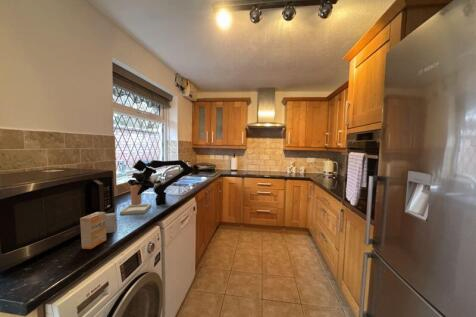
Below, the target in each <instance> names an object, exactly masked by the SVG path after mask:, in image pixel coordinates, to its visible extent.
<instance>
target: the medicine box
mask: <svg viewBox="0 0 476 317" xmlns="http://www.w3.org/2000/svg"><path fill="white" fill-rule="evenodd" d="M105 220H106V234H111V233H115V232H117V230H118V222H117V213H116V212H111V213H105Z"/></svg>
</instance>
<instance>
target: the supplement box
mask: <svg viewBox="0 0 476 317" xmlns="http://www.w3.org/2000/svg"><path fill="white" fill-rule="evenodd" d="M105 214H106V212H105V211H96V212H93V213H90V214H88V215H86V216H83V217H80V218H79V224H80V239H81V240H80V241H81V242H80V243H81V249H83V250H85V249H86V250H92V249H94V248H95V247H97V246H98V245H101V244H102V243H104V242H106V241H107V233H106V220H105Z"/></svg>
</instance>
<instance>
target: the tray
mask: <svg viewBox="0 0 476 317" xmlns="http://www.w3.org/2000/svg"><path fill="white" fill-rule="evenodd" d="M151 207H152V203H141V204H139V205H131V204H128V205H127V206H125V207H124V208H123V209H121V210H120V211H119V216H120V215H121V216H123V215H139V214H146V213H147V212H148V211H149V209H151Z"/></svg>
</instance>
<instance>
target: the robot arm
mask: <svg viewBox="0 0 476 317" xmlns="http://www.w3.org/2000/svg"><path fill="white" fill-rule="evenodd" d="M171 166H180V168H181V170H180V171H179V172H178V173H176V174H175V175H173V176H172V177H170V178H169V179H167V180H165V181H164V182H158V183H157V184H154V183H153V181H151V177H152V176H153V174H154V175H155V174H157V169H159V168H162V167H171ZM132 168H133V169H135V170H136V171H138V173H137V172H133V173H132V176H131V178H133V179H129V180H128V181H127V183H128V185H130V186H133V185H141V188H140V190H139V191H138V194H137V195H140V194H141V195H142V194H143V193H144V192H146V191H148V190H150V189H152V191H153V193H154V194H156V197H155V206H158V205H159V206H161V205H166V204H167V203H168V202H167V192H165V191H166V189H167V188H168V187H170V186H171V185H172V184H173V185H174V183H175V182H177V181H179V180H180V179H182V178H183V177H186V176H189V175H190V174H192V173H193V172H194V168H193V167H192V166H190V165H188V164H187V163H186V162H185V161H184V160H182V159H178V160H160V159H159V160H158V159H152V160H150V162H147V163H145V162H144V161H142V160H141V159H138V161H136V162H135V163H134V165H133V166H132ZM129 195H131V190H130V191H129Z"/></svg>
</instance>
